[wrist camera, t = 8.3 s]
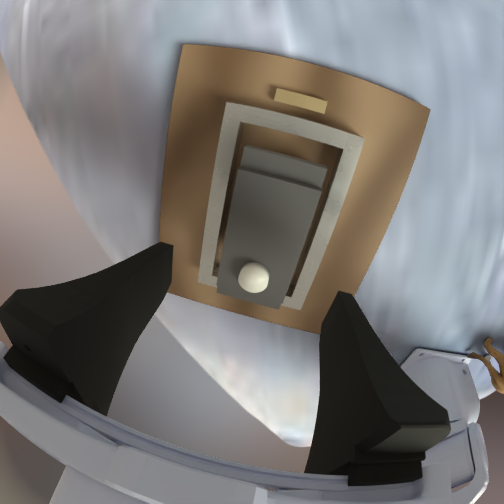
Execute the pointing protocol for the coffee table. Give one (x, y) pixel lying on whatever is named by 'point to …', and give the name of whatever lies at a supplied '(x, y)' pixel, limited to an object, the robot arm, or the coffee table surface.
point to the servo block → (268, 225)
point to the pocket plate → (289, 143)
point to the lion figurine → (499, 380)
